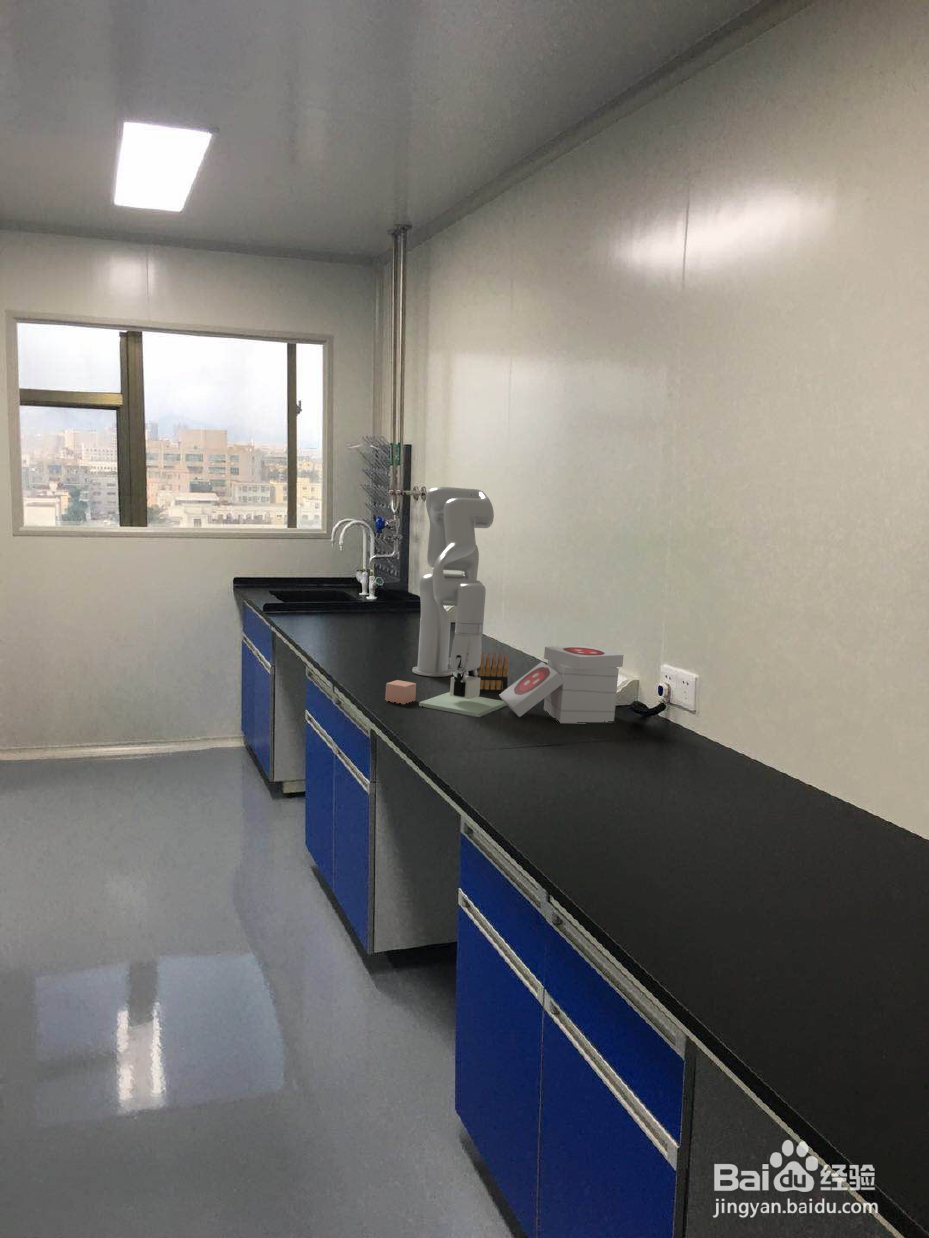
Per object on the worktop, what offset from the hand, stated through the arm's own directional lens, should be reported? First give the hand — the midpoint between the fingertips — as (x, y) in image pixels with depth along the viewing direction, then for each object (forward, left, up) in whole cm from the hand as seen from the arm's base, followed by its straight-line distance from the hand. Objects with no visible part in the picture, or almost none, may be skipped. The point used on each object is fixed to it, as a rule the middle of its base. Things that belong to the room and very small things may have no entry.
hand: (464, 693), depth 268 cm
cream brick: (0, 0, -1) cm, 1 cm away
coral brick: (+7, -16, -4) cm, 18 cm away
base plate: (0, 0, -3) cm, 3 cm away
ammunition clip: (-20, -2, -4) cm, 20 cm away
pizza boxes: (-7, +25, -4) cm, 26 cm away
